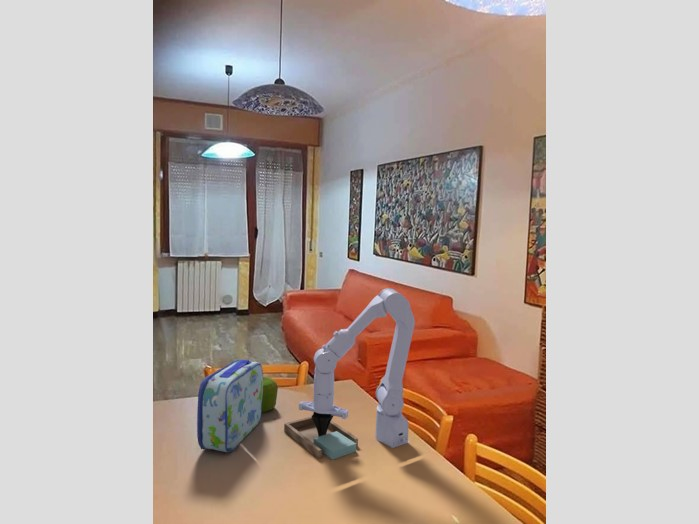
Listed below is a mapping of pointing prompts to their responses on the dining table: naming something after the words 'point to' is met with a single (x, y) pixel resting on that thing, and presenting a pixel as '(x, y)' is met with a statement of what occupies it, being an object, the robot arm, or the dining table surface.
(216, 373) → the lunch box
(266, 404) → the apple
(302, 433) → the box
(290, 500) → the dining table surface
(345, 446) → the teal square tile
